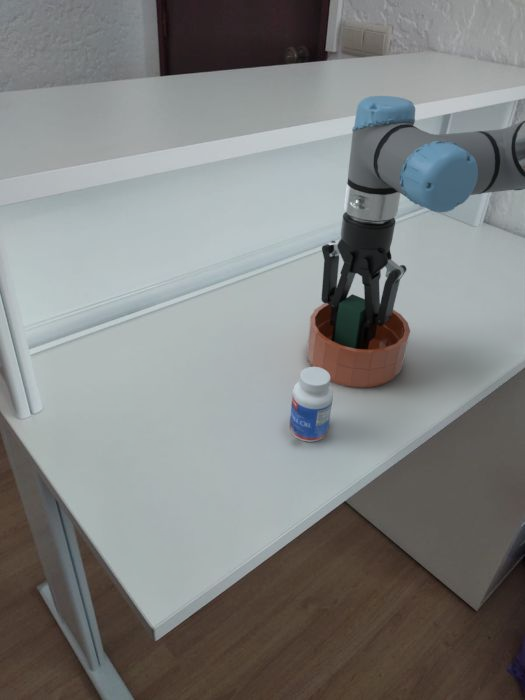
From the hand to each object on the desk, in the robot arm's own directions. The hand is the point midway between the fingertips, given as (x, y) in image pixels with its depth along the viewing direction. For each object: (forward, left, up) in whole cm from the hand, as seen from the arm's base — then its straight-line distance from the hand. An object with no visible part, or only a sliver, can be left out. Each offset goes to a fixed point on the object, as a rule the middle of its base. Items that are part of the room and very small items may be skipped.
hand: (349, 348), depth 96 cm
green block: (0, 0, 0) cm, 0 cm away
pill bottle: (-6, +20, -1) cm, 20 cm away
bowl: (-2, +1, -1) cm, 2 cm away
